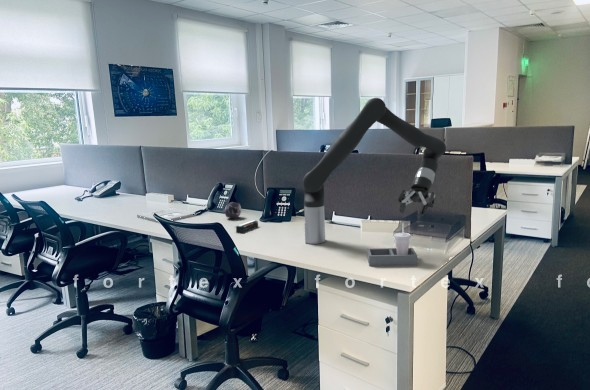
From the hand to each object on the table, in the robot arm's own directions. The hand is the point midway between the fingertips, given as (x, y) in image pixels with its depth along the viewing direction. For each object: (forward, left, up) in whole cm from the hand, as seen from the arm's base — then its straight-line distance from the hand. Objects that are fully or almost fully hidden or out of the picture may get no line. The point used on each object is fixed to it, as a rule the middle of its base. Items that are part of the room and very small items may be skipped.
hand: (411, 213), depth 170 cm
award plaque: (-136, +86, -19) cm, 162 cm away
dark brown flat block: (-75, +50, -19) cm, 92 cm away
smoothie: (-5, -6, -17) cm, 19 cm away
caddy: (-9, -6, -18) cm, 21 cm away
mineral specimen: (-91, +76, -18) cm, 120 cm away
